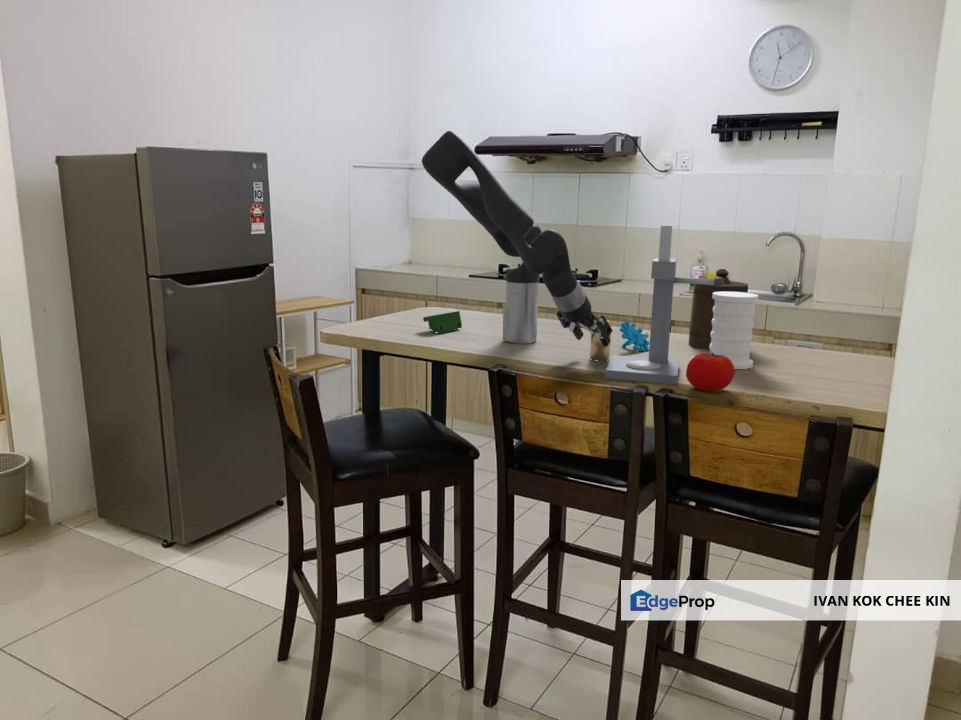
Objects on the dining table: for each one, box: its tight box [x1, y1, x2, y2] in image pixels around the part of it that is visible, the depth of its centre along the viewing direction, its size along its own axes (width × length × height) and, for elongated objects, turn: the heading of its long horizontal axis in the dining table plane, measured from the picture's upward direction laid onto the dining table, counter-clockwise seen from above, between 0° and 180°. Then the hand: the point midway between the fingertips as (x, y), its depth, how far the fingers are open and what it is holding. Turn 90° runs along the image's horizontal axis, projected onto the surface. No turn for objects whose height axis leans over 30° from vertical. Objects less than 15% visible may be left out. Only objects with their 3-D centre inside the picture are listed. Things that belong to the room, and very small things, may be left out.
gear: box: [619, 320, 650, 352], centre depth 202 cm, size 11×6×10 cm
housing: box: [589, 319, 613, 362], centre depth 187 cm, size 5×5×10 cm
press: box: [604, 224, 724, 385], centre depth 169 cm, size 25×17×35 cm
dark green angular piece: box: [422, 310, 463, 334], centre depth 223 cm, size 12×6×9 cm, turn 136°
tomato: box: [685, 351, 736, 393], centre depth 159 cm, size 9×10×8 cm
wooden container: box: [688, 268, 749, 351], centre depth 206 cm, size 15×15×22 cm
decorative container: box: [709, 291, 759, 370], centre depth 183 cm, size 12×12×18 cm
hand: (593, 340), depth 187 cm, fingers open, 8 cm apart
